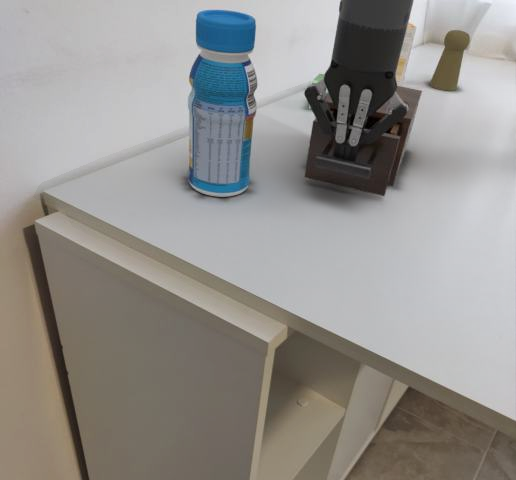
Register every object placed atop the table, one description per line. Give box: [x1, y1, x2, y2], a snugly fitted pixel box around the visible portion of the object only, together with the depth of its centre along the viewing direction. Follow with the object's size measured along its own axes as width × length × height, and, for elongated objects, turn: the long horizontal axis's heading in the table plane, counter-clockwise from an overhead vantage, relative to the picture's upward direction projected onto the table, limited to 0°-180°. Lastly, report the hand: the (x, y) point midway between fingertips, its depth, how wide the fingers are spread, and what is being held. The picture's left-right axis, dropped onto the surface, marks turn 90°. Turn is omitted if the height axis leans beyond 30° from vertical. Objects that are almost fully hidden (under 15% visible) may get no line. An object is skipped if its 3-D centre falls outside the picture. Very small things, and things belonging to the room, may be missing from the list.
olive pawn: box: [429, 29, 471, 92], centre depth 117 cm, size 6×6×11 cm
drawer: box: [303, 108, 403, 197], centre depth 74 cm, size 19×11×8 cm, turn 161°
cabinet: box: [325, 86, 423, 187], centre depth 81 cm, size 15×13×10 cm
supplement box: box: [396, 21, 417, 87], centre depth 107 cm, size 8×5×13 cm, turn 100°
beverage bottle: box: [187, 9, 258, 198], centre depth 66 cm, size 8×8×20 cm
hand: (341, 170), depth 69 cm, fingers closed
